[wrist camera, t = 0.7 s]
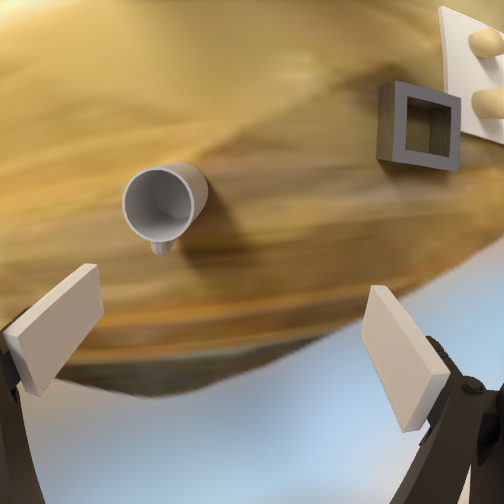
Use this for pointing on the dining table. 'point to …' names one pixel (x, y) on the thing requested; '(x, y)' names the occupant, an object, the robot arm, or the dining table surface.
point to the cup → (164, 202)
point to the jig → (474, 72)
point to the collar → (441, 132)
